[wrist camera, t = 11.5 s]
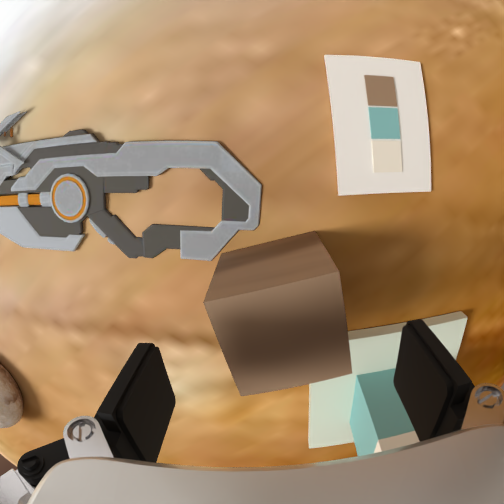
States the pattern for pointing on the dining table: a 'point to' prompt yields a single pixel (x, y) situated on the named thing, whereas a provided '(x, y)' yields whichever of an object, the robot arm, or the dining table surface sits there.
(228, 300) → the walnut brick
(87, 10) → the dining table surface
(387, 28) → the dining table surface
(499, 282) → the dining table surface
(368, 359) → the baseplate
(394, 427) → the teal brick
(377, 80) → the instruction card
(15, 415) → the stone
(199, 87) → the dining table surface
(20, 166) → the gun
